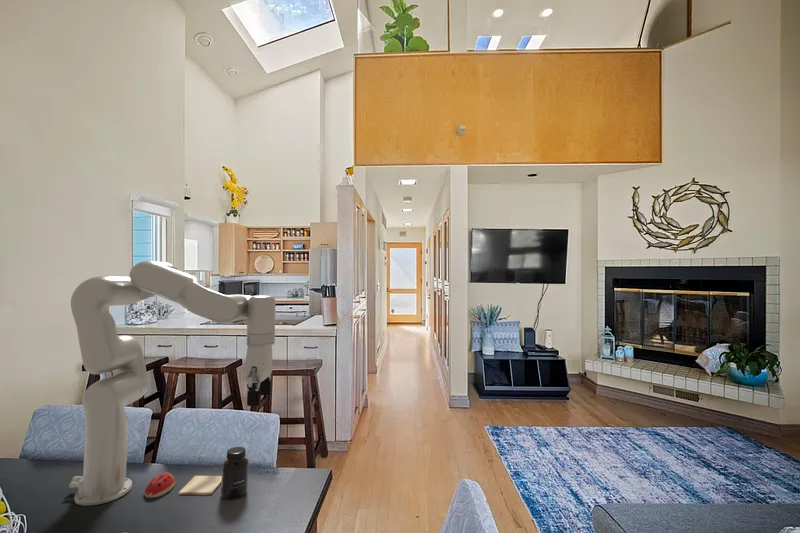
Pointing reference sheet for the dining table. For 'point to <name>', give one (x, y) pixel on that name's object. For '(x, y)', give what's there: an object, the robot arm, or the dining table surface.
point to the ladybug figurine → (159, 485)
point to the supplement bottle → (234, 474)
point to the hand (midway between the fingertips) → (259, 400)
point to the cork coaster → (201, 485)
